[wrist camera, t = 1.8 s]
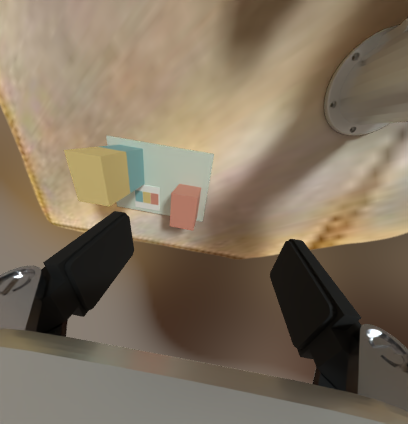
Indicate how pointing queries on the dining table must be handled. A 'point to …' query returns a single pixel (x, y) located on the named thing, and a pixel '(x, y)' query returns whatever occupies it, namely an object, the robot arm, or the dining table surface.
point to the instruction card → (147, 197)
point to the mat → (169, 172)
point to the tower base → (105, 172)
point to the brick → (184, 206)
